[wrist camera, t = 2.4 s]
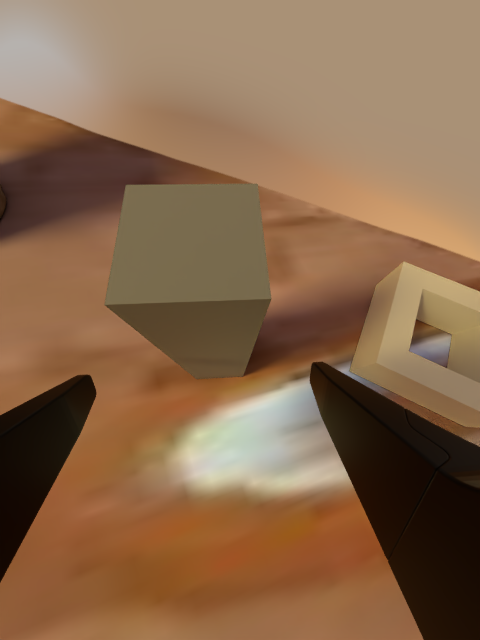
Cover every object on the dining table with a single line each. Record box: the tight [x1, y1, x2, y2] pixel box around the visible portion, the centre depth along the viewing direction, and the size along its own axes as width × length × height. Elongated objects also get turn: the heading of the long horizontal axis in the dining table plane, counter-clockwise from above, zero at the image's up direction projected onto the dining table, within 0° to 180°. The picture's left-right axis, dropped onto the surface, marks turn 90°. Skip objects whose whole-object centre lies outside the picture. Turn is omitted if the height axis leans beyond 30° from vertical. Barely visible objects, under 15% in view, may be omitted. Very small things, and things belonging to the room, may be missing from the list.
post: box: [105, 184, 271, 379], centre depth 13 cm, size 4×4×15 cm
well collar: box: [349, 262, 480, 428], centre depth 19 cm, size 10×10×4 cm
